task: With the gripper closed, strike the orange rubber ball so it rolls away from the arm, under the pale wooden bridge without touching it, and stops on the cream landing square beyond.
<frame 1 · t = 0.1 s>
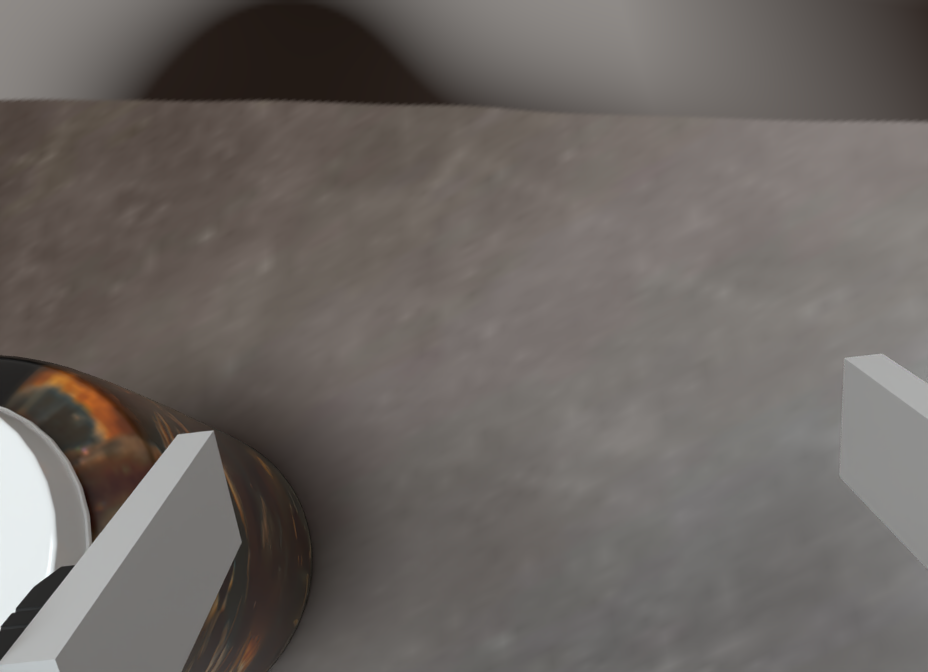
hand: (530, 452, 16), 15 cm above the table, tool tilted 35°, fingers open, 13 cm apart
jar: (170, 567, 31), on the table
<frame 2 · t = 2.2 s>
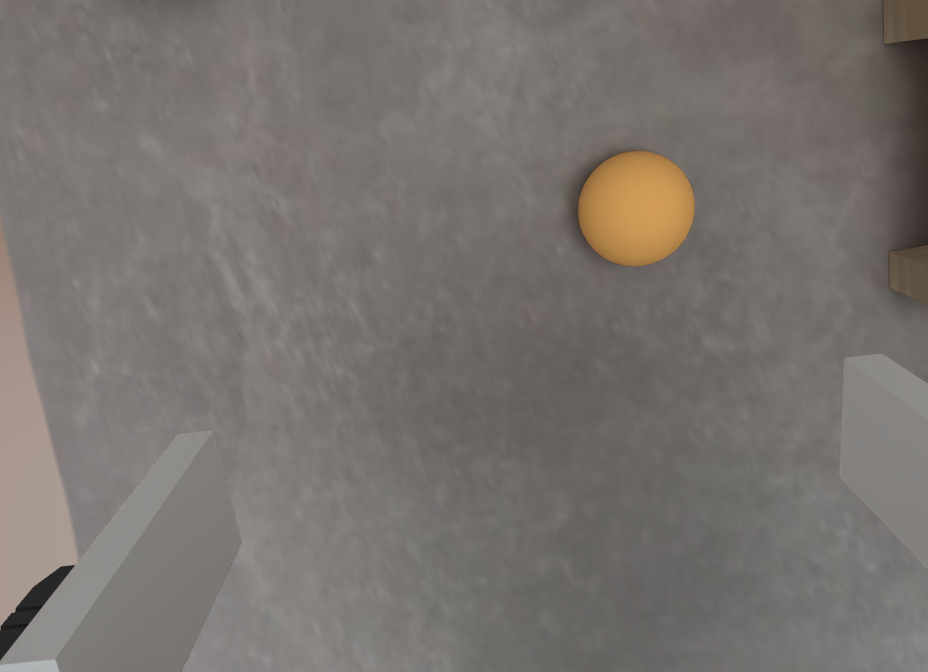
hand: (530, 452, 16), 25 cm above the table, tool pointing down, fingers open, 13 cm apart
bridge: (916, 146, 39), on the table
ball: (635, 209, 37), on the table
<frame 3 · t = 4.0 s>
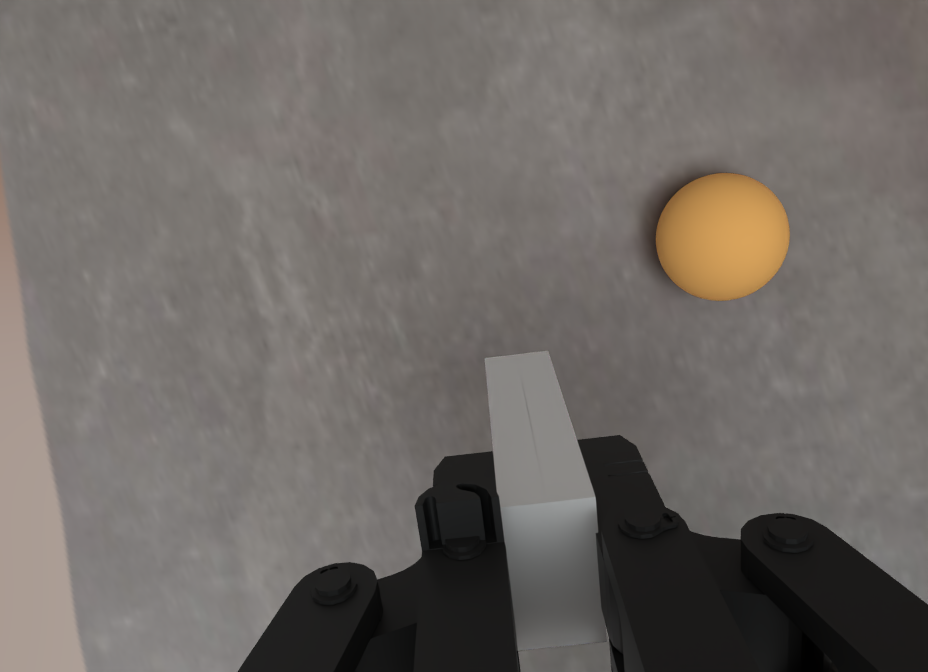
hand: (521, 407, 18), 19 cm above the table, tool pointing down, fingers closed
ball: (720, 237, 33), on the table
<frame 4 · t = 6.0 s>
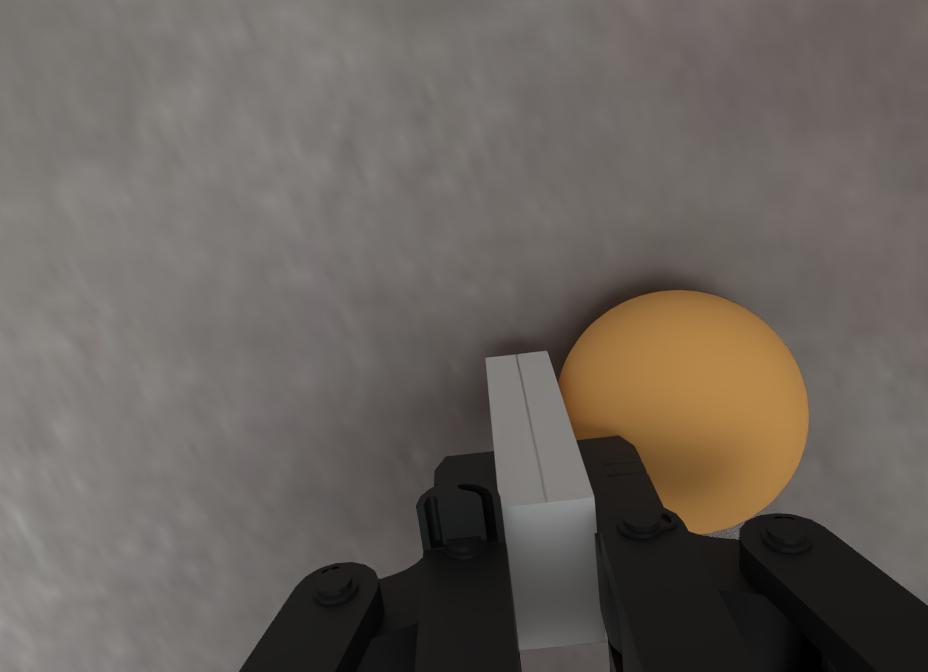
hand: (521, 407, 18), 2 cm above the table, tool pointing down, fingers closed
ball: (676, 410, 17), on the table
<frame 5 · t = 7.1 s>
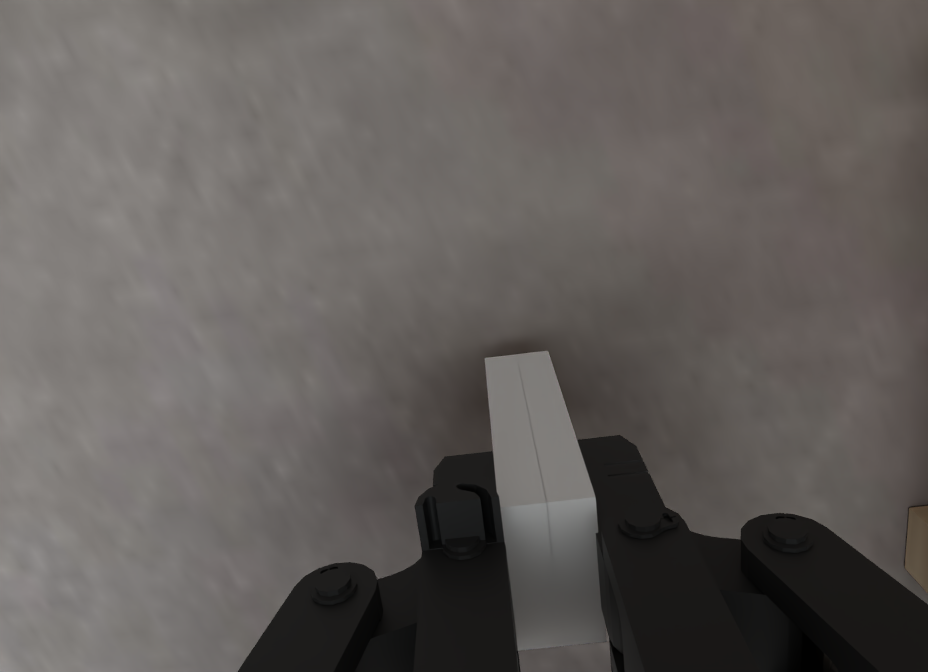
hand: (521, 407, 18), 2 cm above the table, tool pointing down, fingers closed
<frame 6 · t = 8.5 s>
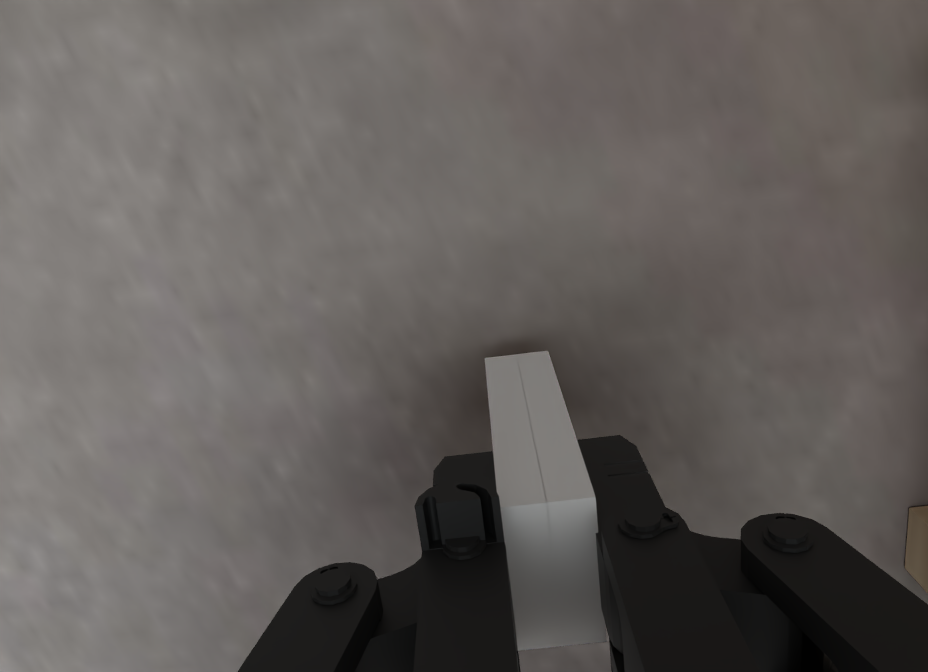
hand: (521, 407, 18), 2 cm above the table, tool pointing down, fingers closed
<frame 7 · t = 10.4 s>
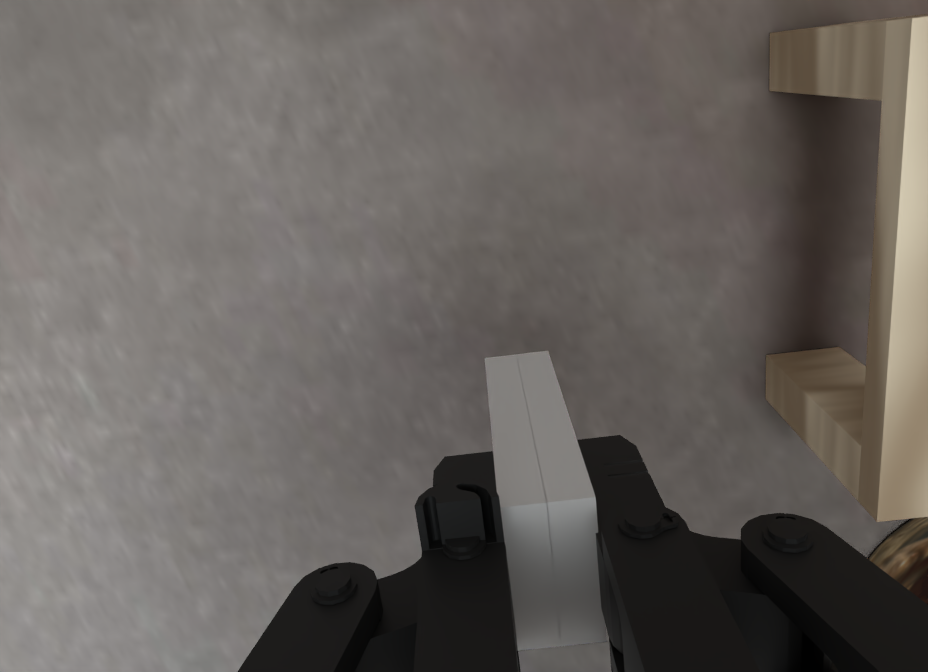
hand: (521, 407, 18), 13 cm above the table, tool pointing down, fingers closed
bridge: (806, 226, 30), on the table
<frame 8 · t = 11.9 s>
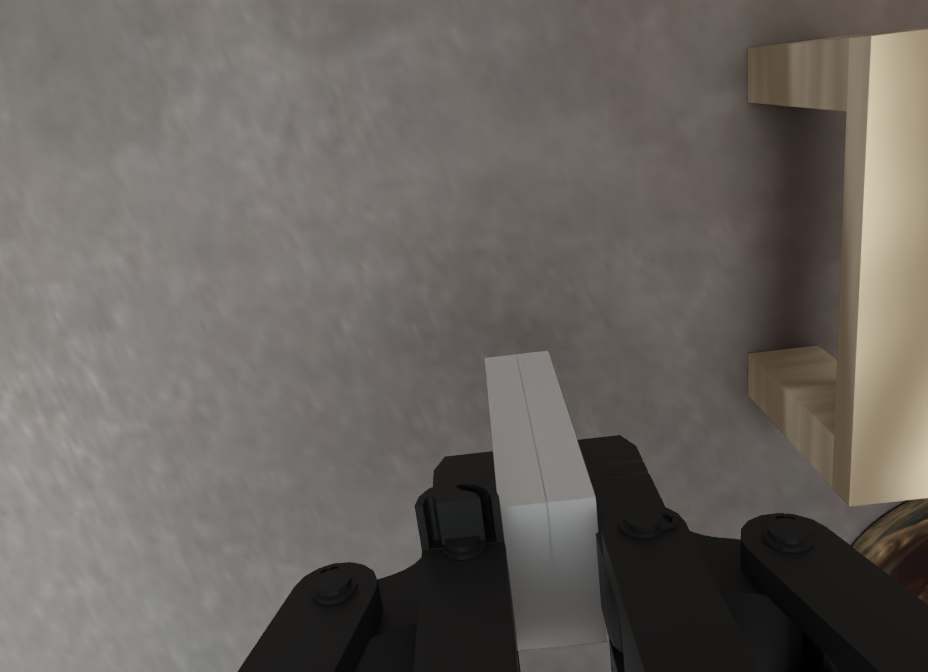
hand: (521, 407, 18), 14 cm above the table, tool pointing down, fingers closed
bridge: (784, 230, 31), on the table
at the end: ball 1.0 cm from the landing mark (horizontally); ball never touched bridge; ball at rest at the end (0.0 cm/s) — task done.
